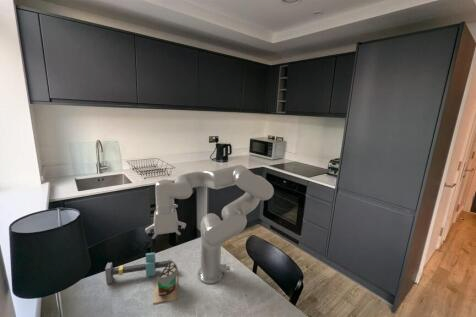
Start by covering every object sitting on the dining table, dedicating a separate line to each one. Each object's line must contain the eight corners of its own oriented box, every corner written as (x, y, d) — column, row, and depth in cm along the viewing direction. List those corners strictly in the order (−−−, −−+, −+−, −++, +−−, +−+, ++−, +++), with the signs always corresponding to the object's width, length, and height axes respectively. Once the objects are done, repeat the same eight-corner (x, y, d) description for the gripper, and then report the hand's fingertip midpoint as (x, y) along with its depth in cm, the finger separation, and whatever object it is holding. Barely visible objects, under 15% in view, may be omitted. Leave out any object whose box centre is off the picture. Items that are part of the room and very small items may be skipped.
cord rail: (172, 268, 116) (172, 254, 115) (172, 273, 113) (172, 259, 111) (108, 277, 108) (107, 263, 106) (106, 284, 104) (105, 268, 103)
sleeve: (155, 267, 115) (155, 249, 112) (155, 275, 109) (154, 256, 107) (147, 268, 113) (146, 250, 111) (146, 276, 108) (145, 258, 106)
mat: (177, 277, 110) (176, 276, 110) (178, 299, 98) (178, 298, 98) (154, 281, 107) (154, 280, 107) (153, 304, 95) (153, 303, 95)
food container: (170, 300, 96) (170, 280, 94) (157, 298, 97) (156, 278, 95) (182, 279, 108) (182, 261, 106) (170, 277, 109) (169, 259, 107)
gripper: (184, 202, 105) (185, 235, 109) (144, 206, 100) (146, 241, 103) (186, 209, 99) (187, 244, 102) (143, 214, 93) (145, 251, 97)
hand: (166, 243), depth 103 cm, fingers open, 9 cm apart
